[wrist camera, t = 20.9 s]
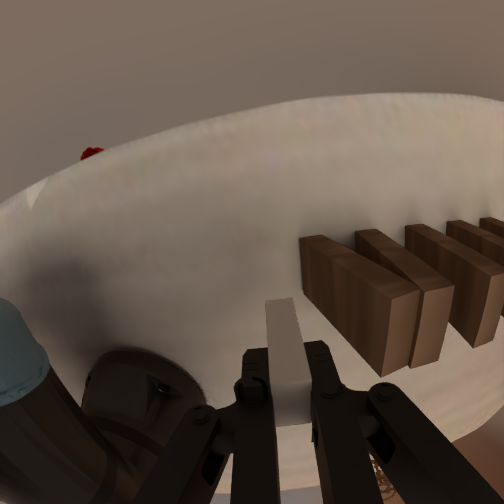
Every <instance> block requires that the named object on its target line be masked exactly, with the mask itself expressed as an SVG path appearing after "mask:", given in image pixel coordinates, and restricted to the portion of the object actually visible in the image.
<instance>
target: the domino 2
mask: <svg viewBox="0 0 504 504" xmlns="http://www.w3.org/2000/svg"><path fill="white" fill-rule="evenodd" d="M355 243H356V253H358V254H360V255H361V256H363V257H365V258H367V259H369V260H371V261H373V262H375V263H376V264H378V265H380V266H382V267H384V268H386V269H387V270H389V271H391V272H393V273H395V274H396V275H398V276H400V277H402V278H403V279H405V280H407V281H409V282H411V283H412V284H414V285H416V286H418V287H419V288H421V295H420V302H419V309H418V316H417V322H416V328H415V333H414V338H413V344H412V348H411V353H410V358H409V362H408V366H409V368H410V369H412V368H415V367H419V366H422V365H426V364H429V363H432V362H435V361H438V359H439V355H440V352H441V348H442V344H443V340H444V336H445V332H446V328H447V324H448V319H449V315H450V310H451V304H452V299H453V293H454V287H455V285H454V284H452V283H451V282H450V281H449V280H447V279H446V278H445V277H443V276H442V275H441V274H439V273H438V272H437V271H436V270H434V269H433V268H432V267H430V266H429V265H427V264H426V263H425V262H423V261H422V260H421V259H419V258H418V257H416V256H415V255H414V254H412V253H411V252H409V251H408V250H407V249H405V248H404V247H402V246H401V245H399V244H398V243H397V242H395V241H394V240H392V239H391V238H389V237H388V236H386V235H385V234H383V233H382V232H380V231H379V230H377V229H369V230H360V231H355Z"/></svg>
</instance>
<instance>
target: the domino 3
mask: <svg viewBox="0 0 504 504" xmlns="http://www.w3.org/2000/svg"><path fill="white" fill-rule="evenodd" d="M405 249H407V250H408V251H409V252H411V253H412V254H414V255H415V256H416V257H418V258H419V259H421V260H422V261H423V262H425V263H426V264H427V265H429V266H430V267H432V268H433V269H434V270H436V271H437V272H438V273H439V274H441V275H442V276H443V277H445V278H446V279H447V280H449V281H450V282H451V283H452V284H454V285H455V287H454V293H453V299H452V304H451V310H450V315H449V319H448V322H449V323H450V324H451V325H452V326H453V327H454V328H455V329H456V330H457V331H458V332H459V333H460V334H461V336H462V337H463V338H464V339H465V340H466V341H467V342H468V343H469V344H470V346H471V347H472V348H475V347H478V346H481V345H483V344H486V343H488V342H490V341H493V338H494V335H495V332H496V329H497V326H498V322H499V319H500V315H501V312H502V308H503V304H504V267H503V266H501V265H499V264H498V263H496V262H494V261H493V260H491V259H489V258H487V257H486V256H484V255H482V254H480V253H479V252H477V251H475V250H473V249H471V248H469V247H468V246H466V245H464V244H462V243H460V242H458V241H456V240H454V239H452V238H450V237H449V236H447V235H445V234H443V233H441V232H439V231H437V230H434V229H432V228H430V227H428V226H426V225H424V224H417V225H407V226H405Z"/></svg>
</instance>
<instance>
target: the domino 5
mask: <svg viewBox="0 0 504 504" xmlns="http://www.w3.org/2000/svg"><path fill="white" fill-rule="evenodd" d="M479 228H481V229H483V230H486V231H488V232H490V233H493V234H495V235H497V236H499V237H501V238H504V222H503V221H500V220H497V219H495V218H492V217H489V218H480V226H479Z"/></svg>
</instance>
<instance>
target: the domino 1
mask: <svg viewBox="0 0 504 504" xmlns="http://www.w3.org/2000/svg"><path fill="white" fill-rule="evenodd" d="M300 250H301V262H302V275H303V290H304V295H305V296H306V297H307V298H308V299H309V300H310V301H311V302H312V303H313V304H314V305H315V306H316V308H317V309H318V310H319V311H320V312H321V313H322V314H323V315H324V316H325V317H326V318H327V319H328V321H329V322H330V323H331V324H332V325H333V326H334V327H335V328H336V329H337V330H338V331H339V333H340V334H341V335H342V336H343V337H344V338H345V339H346V340H347V341H348V342H349V343H350V345H351V346H352V347H353V348H354V349H355V350H356V351H357V352H358V353H359V354H360V355H361V357H362V358H363V359H364V360H365V361H366V362H367V363H368V364H369V365H370V366H371V368H372V369H373V370H374V371H375V372H376V373H377V374H378V375H379V376H380V377H384V376H386V375H388V374H390V373H392V372H394V371H396V370H399V369H401V368H403V367H405V366H407V365H408V362H409V358H410V353H411V348H412V344H413V338H414V333H415V328H416V322H417V316H418V309H419V302H420V295H421V288H419V287H418V286H416V285H414V284H412V283H411V282H409V281H407V280H405V279H403V278H402V277H400V276H398V275H396V274H395V273H393V272H391V271H389V270H387V269H386V268H384V267H382V266H380V265H378V264H376V263H375V262H373V261H371V260H369V259H367V258H365V257H363V256H361V255H360V254H358V253H356V252H354V251H352V250H350V249H348V248H346V247H344V246H343V245H341V244H339V243H337V242H335V241H333V240H331V239H329V238H327V237H325V236H323V235H317V236H312V237H307V238H301V239H300Z"/></svg>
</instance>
